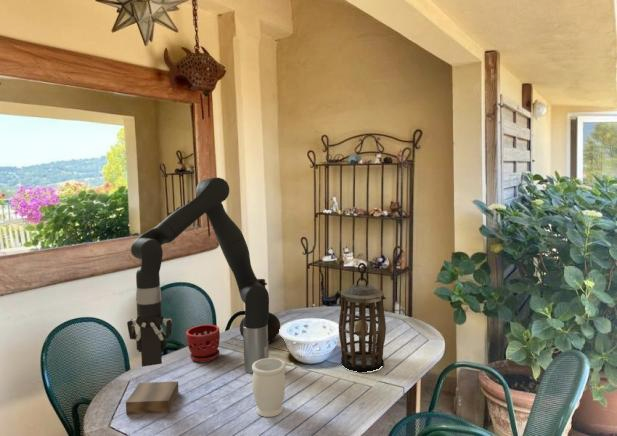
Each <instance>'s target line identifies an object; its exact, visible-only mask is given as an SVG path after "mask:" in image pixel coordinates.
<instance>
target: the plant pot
mask: <svg viewBox="0 0 617 436" xmlns="http://www.w3.org/2000/svg"><path fill="white" fill-rule="evenodd" d="M205 332H206V333H205ZM185 334H186V335H185V336H186V343H187V346H188V350H189V352H190V355H189V356H190V359H191V360H193V362H197V363H198V362H199V363H206V362H210V361H213V360H215V359H216V358H217V357H219V355H220V350H219V346H220V341H221V340H220V338H221V337H220V336H221V335H220V334H221V332H220V327H219V326H217V325H215V324H201V325H197V326H192V327H191V328H189V329H187V330H186V333H185ZM194 334H195V335H194Z"/></svg>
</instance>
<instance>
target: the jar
mask: <svg viewBox="0 0 617 436" xmlns="http://www.w3.org/2000/svg"><path fill="white" fill-rule="evenodd" d="M285 367H286V364H285V362H284V361H283V360H281V359H279V358H275V357H269V358H265V359H260V360H257V361H255V362H254V363H253V364H252V370H253V371H254V372H253V373H252V377H251V379H252V380H251V384H252V385H251V387H252V393H253V396H254V397H253V398H254V402H255V404H256V409H255V410H256V413H257V414H258V415H259V416H261V417H265V418H272V417H276V416H278V415H280V414H282V412H283V405H282V404H283V402H284V398H285V390H286V374H285V371H284V370H285Z"/></svg>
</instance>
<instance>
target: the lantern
mask: <svg viewBox="0 0 617 436" xmlns="http://www.w3.org/2000/svg"><path fill="white" fill-rule="evenodd" d="M361 266H363V267H364V270H363V269H360V268H361ZM357 271H358V273H360V277H359V278H358V279H357V280H356V283H354V284H350V285H349V287H348V288H345V289H343V290H340V291H339V293H340V298H339V299H340V300H341V301H340V312H339V317H338V336H339V342H340V343H339V344H340V348H341V349H340V351H341V359H340V360H341V361H340V364H342V365H343V366H344V367H345V368H347V369H349V370H353V371H357V372H367V371H373V370H376V369H379V368H380V367H381V366H383V365H384V366H385V362H384V358H383V357H384V347H385V341H386V332H387V331H386V329H387V323H386V317H385V309H384V300H386V299H387V298H386V297H385V293H384V291H383V290H380V289H377V288H375V285H373V284H370V283H368V281H367V279H366V278H365V277H364V275H365V273H366V272H367V266H366V264H365V263H364V262H360V263H358V265H357ZM360 281H361V282H363V281H364V282H365V283H359V282H360ZM366 304H367V305H366ZM357 308H358V315H356V309H357ZM366 308H367V309H368V315H366V312H367V311H366V310H367V309H366ZM348 311H349V313H348ZM347 318H348V319H347ZM376 318H377V319H376ZM368 322H369V325H368ZM347 324H348V329H349V330H348V329H346V328H347ZM347 334H349V342H348V341H347ZM355 335H356V336H357V337H358V340H355ZM367 336H368V340H366V337H367ZM356 344H358V351H356ZM366 345H368V347H367V348H366ZM348 346H349V348H348ZM348 349H350V352H349V350H348ZM366 349H368V350H366ZM342 365H341V366H342ZM344 367H343V368H344ZM345 368H344V369H345ZM347 369H346V370H347ZM357 372H356V373H357Z"/></svg>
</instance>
